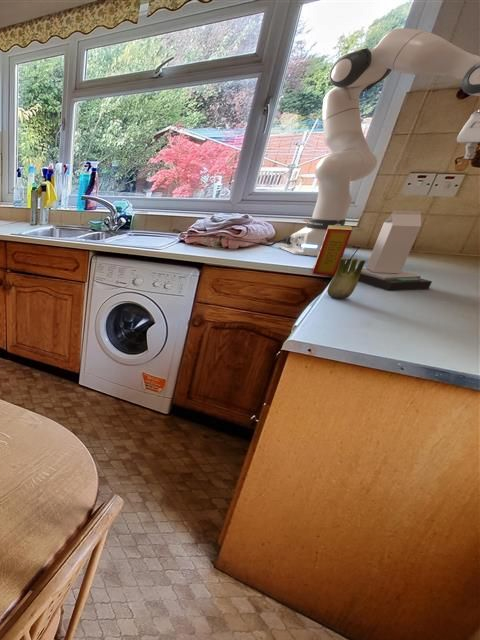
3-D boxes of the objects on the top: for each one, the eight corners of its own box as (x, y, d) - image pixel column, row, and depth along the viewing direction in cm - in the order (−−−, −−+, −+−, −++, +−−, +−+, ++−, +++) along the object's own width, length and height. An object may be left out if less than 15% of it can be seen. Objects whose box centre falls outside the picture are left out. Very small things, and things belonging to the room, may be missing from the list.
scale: (347, 277, 151) (351, 268, 150) (383, 276, 151) (387, 267, 150) (388, 290, 137) (393, 280, 135) (428, 289, 137) (433, 278, 136)
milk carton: (399, 274, 141) (427, 212, 132) (372, 272, 144) (397, 211, 135) (391, 269, 147) (417, 209, 138) (365, 267, 150) (389, 209, 141)
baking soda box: (335, 275, 154) (352, 228, 146) (312, 273, 157) (328, 227, 150) (334, 270, 161) (351, 225, 153) (313, 268, 164) (328, 224, 156)
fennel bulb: (352, 298, 131) (368, 258, 125) (345, 301, 129) (361, 261, 123) (330, 294, 135) (344, 255, 130) (322, 297, 133) (337, 257, 127)
